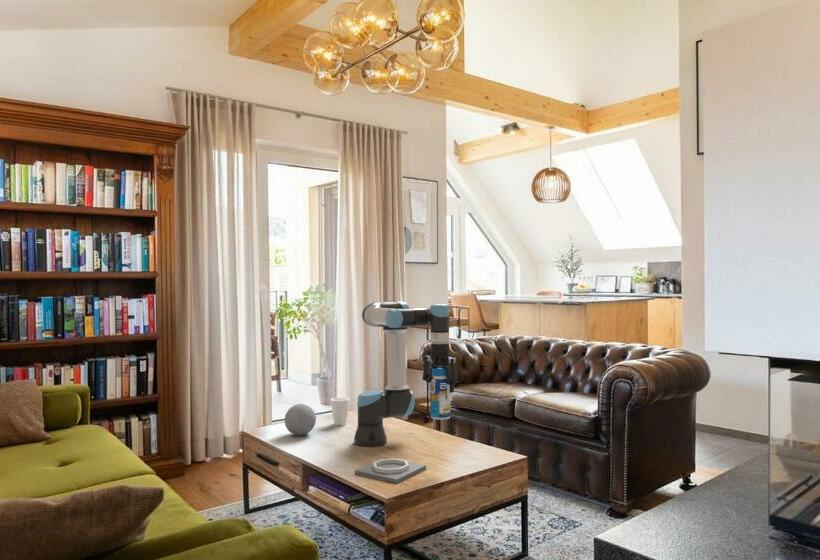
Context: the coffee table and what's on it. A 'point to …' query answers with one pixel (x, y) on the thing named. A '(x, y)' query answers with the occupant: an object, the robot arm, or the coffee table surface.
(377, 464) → the slate plate
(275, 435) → the coffee table surface
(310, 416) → the decorative ball
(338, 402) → the foam cup
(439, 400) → the beverage bottle
